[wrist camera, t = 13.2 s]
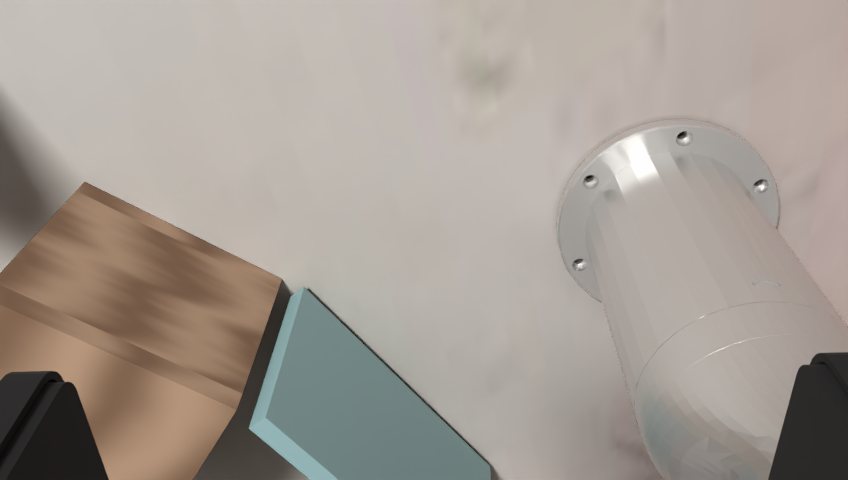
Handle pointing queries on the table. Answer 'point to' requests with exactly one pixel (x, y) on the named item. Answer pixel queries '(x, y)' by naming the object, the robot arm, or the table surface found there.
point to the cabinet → (136, 330)
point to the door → (350, 409)
